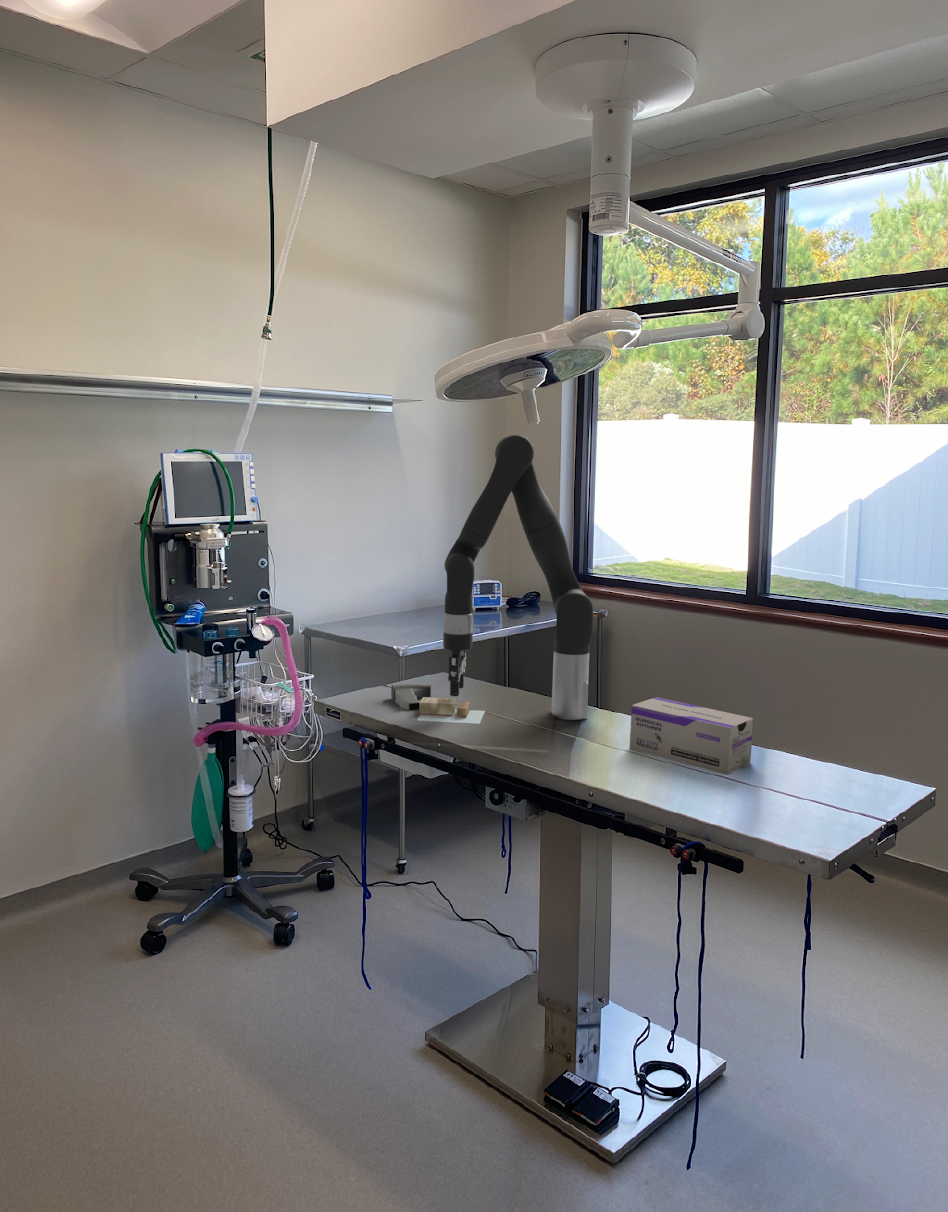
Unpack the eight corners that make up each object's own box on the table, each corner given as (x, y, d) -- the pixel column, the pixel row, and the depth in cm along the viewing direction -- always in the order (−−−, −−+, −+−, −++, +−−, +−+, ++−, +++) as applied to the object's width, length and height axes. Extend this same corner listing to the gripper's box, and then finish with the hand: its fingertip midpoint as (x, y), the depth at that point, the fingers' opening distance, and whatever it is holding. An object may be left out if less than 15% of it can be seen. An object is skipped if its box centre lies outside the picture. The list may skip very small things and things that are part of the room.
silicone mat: (485, 713, 244) (485, 710, 244) (479, 726, 233) (479, 723, 232) (425, 709, 246) (425, 707, 246) (416, 722, 234) (416, 720, 234)
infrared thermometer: (404, 717, 243) (387, 699, 257) (447, 713, 248) (429, 695, 261) (405, 700, 242) (388, 683, 256) (448, 697, 247) (429, 680, 260)
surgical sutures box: (629, 749, 217) (631, 705, 216) (653, 739, 225) (656, 697, 223) (727, 775, 201) (730, 727, 199) (750, 764, 208) (753, 718, 207)
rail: (469, 710, 244) (469, 701, 244) (466, 717, 237) (466, 708, 237) (460, 710, 244) (460, 701, 244) (456, 717, 238) (457, 708, 237)
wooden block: (455, 698, 243) (423, 697, 244) (452, 704, 238) (419, 702, 239) (455, 710, 244) (423, 708, 245) (451, 716, 238) (419, 714, 239)
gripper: (468, 636, 230) (467, 699, 233) (476, 626, 244) (474, 686, 247) (439, 634, 231) (438, 698, 234) (447, 624, 245) (446, 684, 248)
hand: (456, 691), depth 240 cm, fingers open, 8 cm apart
